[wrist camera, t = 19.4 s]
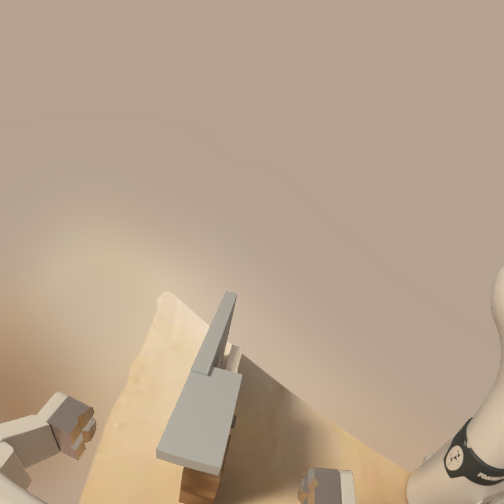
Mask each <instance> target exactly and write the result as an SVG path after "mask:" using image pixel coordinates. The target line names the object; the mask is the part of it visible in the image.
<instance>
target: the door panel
mask: <svg viewBox="0 0 504 504" xmlns="http://www.w3.org/2000/svg"><path fill="white" fill-rule="evenodd" d="M242 350H243V348H241V347H238V346H234V345H232V348H231V351H230V355H229V358H228V361H227V365H226V368H225V370H227V371H231V372H235V373H237V370H238V366H239V362H240V358H241V354H242ZM236 417H237V416H235V415H233V419H232V423H231V427H230V428H234V425H235V421H236Z"/></svg>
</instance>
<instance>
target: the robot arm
mask: <svg viewBox="0 0 504 504" xmlns="http://www.w3.org/2000/svg"><path fill="white" fill-rule="evenodd" d="M491 309H492V315H493V319H494V321H495V324H496V326H497V329H498V333H499V338H500V345H501V360H500V367H499V372H498V375H497V378H496V380H495V383H494V385H493V387H492V389H491V391H490V392H489V394H488V396H487V398H486V399H485V401H484V403H483V404H482V406H481V407H480V409H479V410H478V411H477V413H476V414H475V416H474V417H472V418H471V419H469V420H468V421H467V422H466V423H465V424H464V425H463V426H462V427H461V428H460V429H459V432H458V433H457V434H455V435H453V436H452V437H450V438H449V440H447V441H446V442H445V443H444V444H443V445H442V446H441V447H440V448H439V449H438V450H437V451H436V452H435V453H429V454H428V455H427V456H426V457H425V458H424V461H423V463H422V465H421V467H419V468H418V469H417V470H416V471H415V472H414V473H413V474H412V475H411V476H410V478H409V480H408V483H407V499H408V503H409V504H504V265H503V266H502V267H501V269H500V270H499V272H498V274H497V276H496V278H495V281H494V284H493V288H492V293H491ZM93 414H94V410H93V407H90V406H88V405H86V404H84V403H82V402H80V401H77V400H75V399H74V398H72V397H70V396H68V395H66V394H64V393H62V392H60V391H59V392H57V393H55V394H54V395H53V397H52V398H51V399H50V400H49V401H48V403H47V404H46V405H45V406H44V407H43V408H42V409H41V411H40V412H39V413H38V414H37V416H35V415H30V416H27V417H23V418H20V419H16V420H13V421H9V422H5V423H2V424H0V504H47V503H46V502H44V501H42V500H41V499H39V498H38V497H36V496H34V495H33V494H31V493H30V492H28V491H27V490H26V489H27V488H28V486H29V485H30V483H31V481H32V479H31V477H30V475H29V473H28V472H27V471H26V469H25V468H27V467H29V466H31V465H33V464H36V463H38V462H40V461H42V460H45V459H47V458H49V457H51V456H53V455H55V454H57V453H59V452H60V451H61V452H63V453H65V454H67V455H69V456H71V457H73V458H75V459H77V460H79V458H80V457H81V455H82V454H83V452H84V451H85V449H86V448H85V443H86V442H89V441H91V439H92V438H93V436H94V434H95V430H96V420H95V419H94V418H93ZM298 499H299V501H300V502H301V504H356V498H355V489H354V481H353V473H352V472H351V471H350V470H337V469H322V468H311V469H310V470H309V471H308V476H307V477H305V478H303V480H302V481H301V484H300V486H299V491H298Z"/></svg>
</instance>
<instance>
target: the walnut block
mask: <svg viewBox="0 0 504 504" xmlns="http://www.w3.org/2000/svg"><path fill="white" fill-rule="evenodd" d="M230 437H231V435H229V436H228V440H227V445H226V449H225V453H224V457H223V461H222V466H221V469H220V472H219V475H214V474H210V473H206V472H202V471H198V470H194V469H191V468H187V467H184V469H183V474H182V481H181V489H180V497H179V502H182V503H185V504H212V503H213V501H214V498H215V495H216V492H217V489H218V487H219V484H220V480H221V476H222V472H223V468H224V463H225V459H226V455H227V450H228V446H229V442H230Z"/></svg>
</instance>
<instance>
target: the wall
mask: <svg viewBox="0 0 504 504" xmlns="http://www.w3.org/2000/svg"><path fill="white" fill-rule="evenodd" d="M236 298H237V294H236V293H232V292H228V291H226V293H225V295H224V297H223V299H222V301H221V304H220V306H219V308H218V310H217V312H216V315H215V317H214V319H213V322H212V324H211V326H210V328H209V330H208V332H207V335H206V337H205V339H204V341H203V343H202V346H201V348H200V350H199V352H198V355H197V357H196V359H195V361H194V364H193V366H192V368H191V372H190V374H189V376H188V379H187V381H186V383H185V385H184V388H183V390H182V392H181V395H180V397H179V399H178V401H177V404H176V406H175V408H174V410H173V413H172V415H171V417H170V419H169V422H168V424H167V426H166V429H165V431H164V433H163V435H162V438H161V440H160V442H159V445H158V447H157V449H156V458H159V459H162V460H165V461H168V462H171V463H174V464H177V465H181V466H184V467H187V468H191V469H194V470H198V471H202V472H206V473H210V474H214V475H219V472H220V469H221V466H222V461H223V457H224V453H225V449H226V445H227V440H228V436H229V432H230V427H231V423H232V419H233V414H234V410H235V406H236V401H237V397H238V393H239V388H240V384H241V379H242V375H243V374H239V373H235V372H231V371H227V370H223V369H220V367H221V363H222V360H223V356H224V352H225V347H226V343H227V338H228V334H229V329H230V325H231V320H232V316H233V311H234V306H235V302H236Z"/></svg>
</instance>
